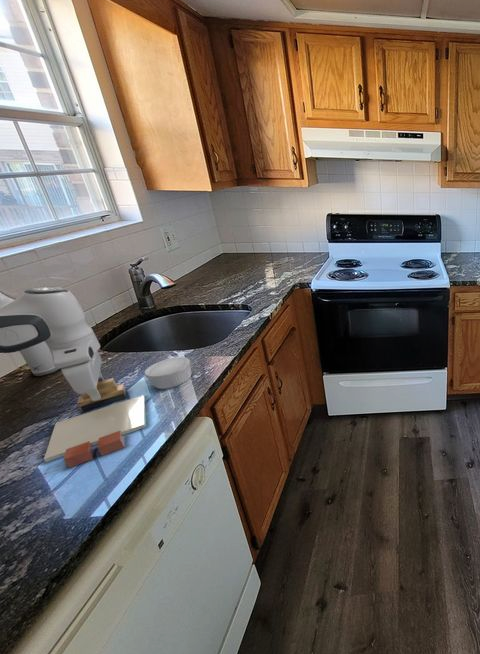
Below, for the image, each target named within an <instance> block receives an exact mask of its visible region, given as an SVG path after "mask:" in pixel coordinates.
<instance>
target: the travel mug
mask: <svg viewBox="0 0 480 654" xmlns="http://www.w3.org/2000/svg"><path fill="white" fill-rule="evenodd" d="M19 353H20V355H21V356H22V358H23V360H24V361H25V363H26V364H27V366H28V368H29V370H30V371H31V373H32V374H33V376H36V377H41V376H46V375H51V374H53V373H55V372H57V371H58V370H59V369H56V367H55V366H54V364H53V356H52V354H51V352H50V349H49V347H48V346H47V344H46V342H45V341H43V342H41V343H39V344H37V345H34V346H31V347H29V348H26V349H23V350H20V351H19Z"/></svg>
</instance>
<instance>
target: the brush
mask: <svg viewBox="0 0 480 654" xmlns="http://www.w3.org/2000/svg"><path fill="white" fill-rule="evenodd" d="M97 390H98V391H99V392H100V394H101V399H99V400H96V401H92V399H91V398H90V396H89V395H88V394H86V393H83V394H80V396H78V398H77V401H76V405H77V407H78V408H81V410H82V412H84V413H85V412H86V411H90V410H93V409H97V408H100V407H102V406H106V405H109V404H113V403H115V402H119V401H122V400H125V399H127V391H126V386H125V384H124V383H121V384H117V383H116V381H115V379H114V377H111V378H107V379H104V381H100V382H98V383H97Z"/></svg>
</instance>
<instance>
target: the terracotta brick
mask: <svg viewBox="0 0 480 654" xmlns="http://www.w3.org/2000/svg"><path fill="white" fill-rule="evenodd" d="M125 439H126V438H125V435H123V434H122V432H121V431H118V432H115V433H112V434H109V435H106V436H103V437H100V438H99V439H98V444H97V450H98V451H99V453H100V456H105V455H108V454H111V453H114V452H117V451H119V450H121V449H125Z"/></svg>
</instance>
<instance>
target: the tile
mask: <svg viewBox="0 0 480 654" xmlns="http://www.w3.org/2000/svg"><path fill="white" fill-rule="evenodd" d="M146 417H147V416H146V396H145V394H143V395H140V396H136V397H132V398H129V399H127V400H123V401H120V402H117V403H114V404H111V405H107V406H104V407H101V408H98V409H95V410H91V411H89V412H86V413H85V412H84V413H82V414H79V415H75V416H73V417H69V418H66V419H63V420H60V421H56V422H55V423H54V427H53V430H52V433H51V436H50V439H49V442H48V445H47V448H46V452H45V454H44V457H43V461H44V462H45V463H48V462H51V461H54V460H57V459H60V458H64V456H65V452H66V449H68V448H71V447H74V446H77V445H80V444H83V443H86V442H88V441H90V442H91V444H92V446H93V447H94V446H96V445H97V446H98V439H99V438H100V437H103V436H106V435H109V434H112V433H115V432H118V431H121V432H122V434H123V436H125V435H128V434H131V433H133V432H136V431H139V430H142V429H144V428H147V421H146V420H147V418H146Z"/></svg>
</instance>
